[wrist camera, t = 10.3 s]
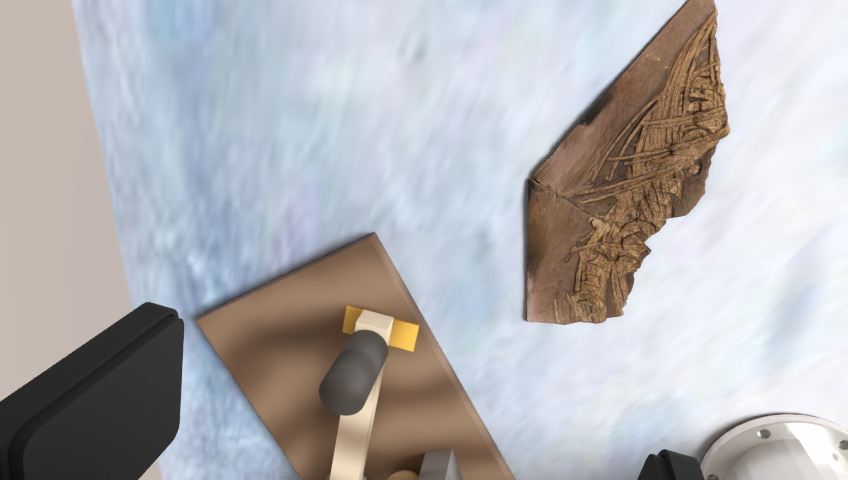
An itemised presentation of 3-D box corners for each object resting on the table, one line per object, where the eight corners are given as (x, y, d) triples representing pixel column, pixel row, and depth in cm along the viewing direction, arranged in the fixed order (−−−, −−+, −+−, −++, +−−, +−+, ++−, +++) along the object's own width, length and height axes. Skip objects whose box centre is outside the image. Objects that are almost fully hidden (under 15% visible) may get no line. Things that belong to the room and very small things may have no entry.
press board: (519, 485, 51) (515, 546, 45) (350, 532, 57) (328, 592, 51) (375, 232, 45) (349, 262, 39) (205, 312, 51) (160, 350, 45)
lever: (362, 524, 53) (331, 610, 45) (321, 511, 53) (283, 594, 45) (405, 317, 45) (376, 378, 37) (356, 303, 45) (316, 361, 37)
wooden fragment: (595, 352, 46) (596, 359, 45) (469, 291, 46) (467, 297, 45) (805, 34, 36) (812, 34, 35) (643, -41, 36) (646, -43, 35)
